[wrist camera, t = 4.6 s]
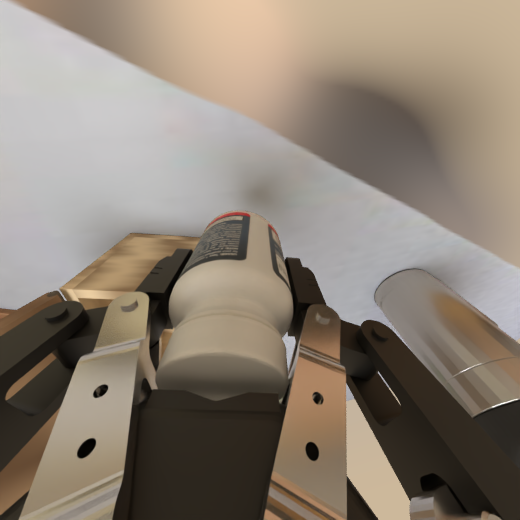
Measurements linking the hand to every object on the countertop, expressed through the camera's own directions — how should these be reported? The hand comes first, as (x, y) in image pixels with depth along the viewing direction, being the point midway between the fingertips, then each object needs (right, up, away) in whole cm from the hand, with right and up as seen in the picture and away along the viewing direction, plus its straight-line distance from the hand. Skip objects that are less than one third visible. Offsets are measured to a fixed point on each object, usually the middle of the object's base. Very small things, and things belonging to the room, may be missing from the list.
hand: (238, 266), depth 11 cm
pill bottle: (0, +2, +2) cm, 3 cm away
